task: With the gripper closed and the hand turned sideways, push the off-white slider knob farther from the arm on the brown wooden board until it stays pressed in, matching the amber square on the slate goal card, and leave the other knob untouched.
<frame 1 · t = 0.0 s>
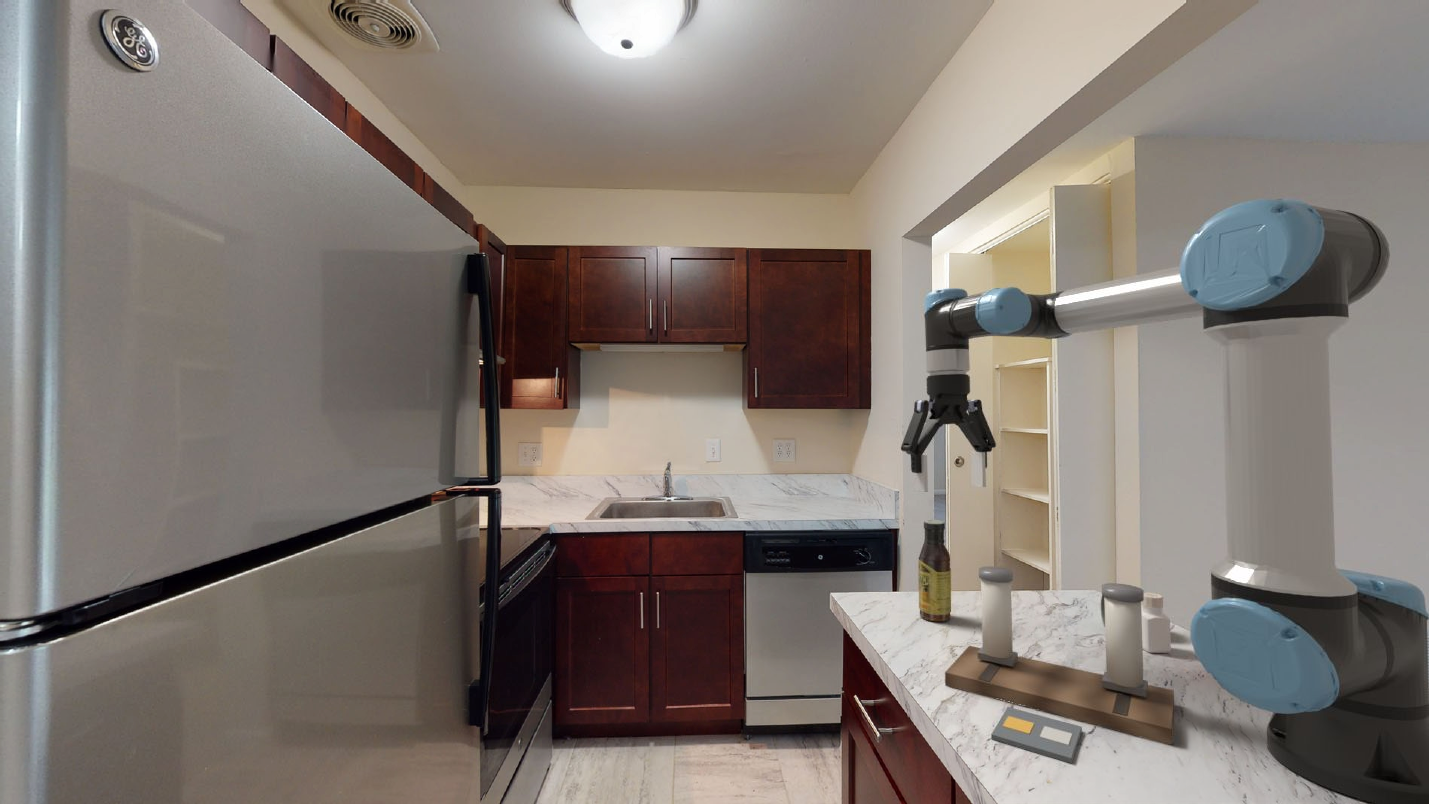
hand: (950, 488, 111), 28 cm above the countertop, tool pointing down, fingers open, 13 cm apart
brown wooden board: (1055, 694, 90), on the countertop
goal card: (1037, 735, 79), on the countertop
near slider: (1123, 637, 86), point 10 cm above the countertop, slide at 0.0 cm
sauce bottle: (935, 619, 123), on the countertop
far slider: (996, 614, 97), point 9 cm above the countertop, slide at 0.0 cm
salt shaker: (1153, 650, 105), on the countertop
ceramic mug: (1126, 631, 115), on the countertop
apple: (1229, 679, 94), on the countertop
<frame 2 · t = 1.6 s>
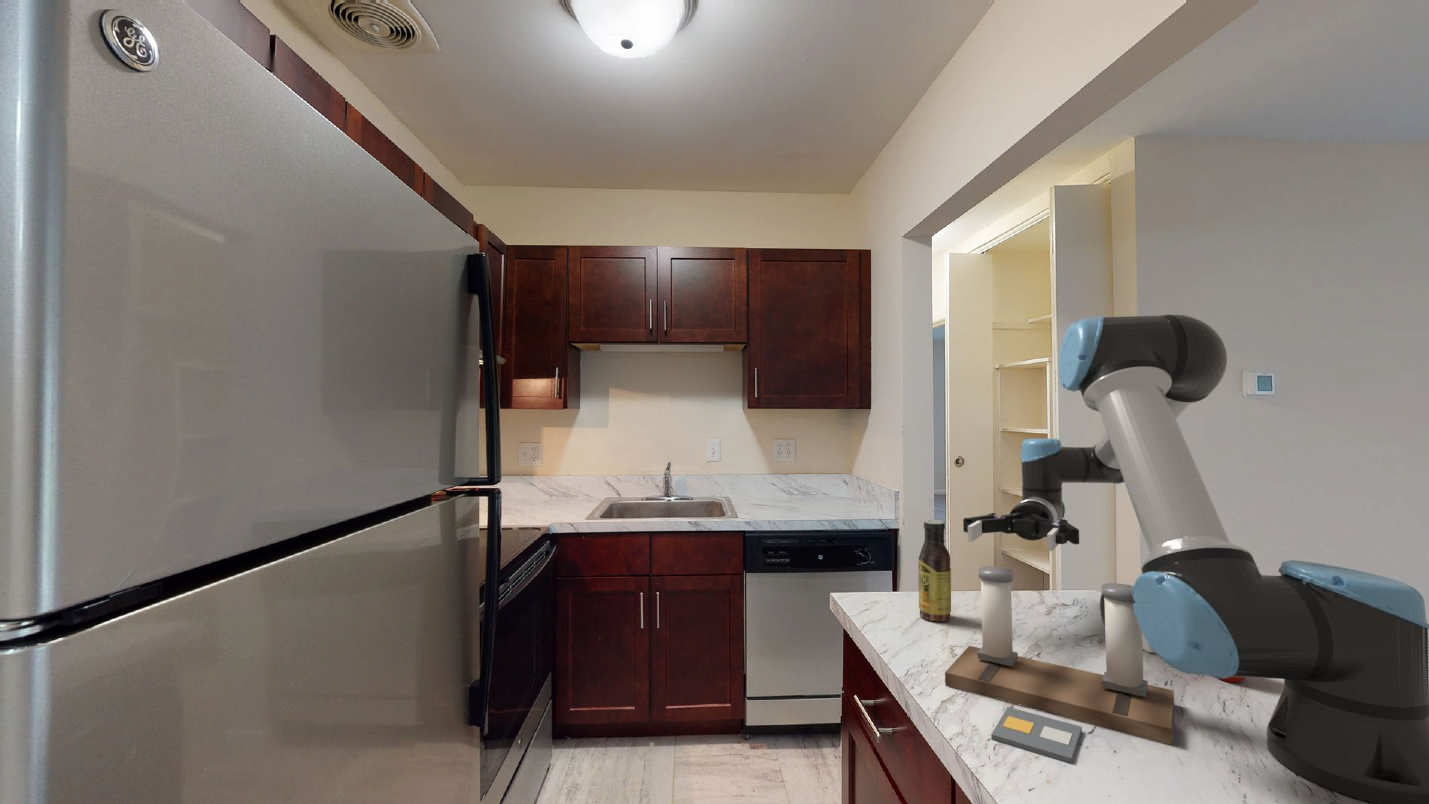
hand: (1008, 538, 105), 20 cm above the countertop, tool horizontal, fingers open, 12 cm apart
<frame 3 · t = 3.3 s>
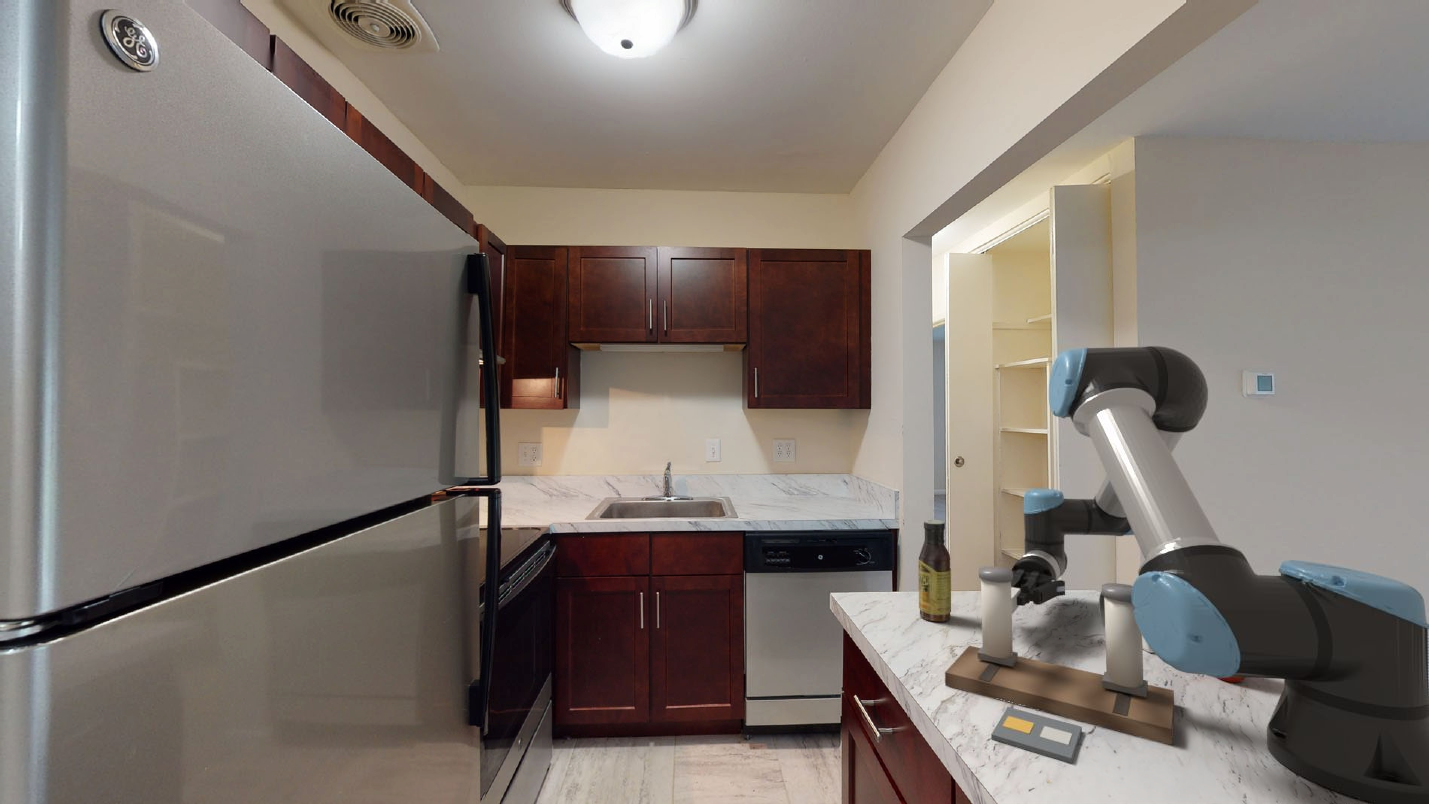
hand: (1007, 605, 103), 9 cm above the countertop, tool horizontal, fingers closed
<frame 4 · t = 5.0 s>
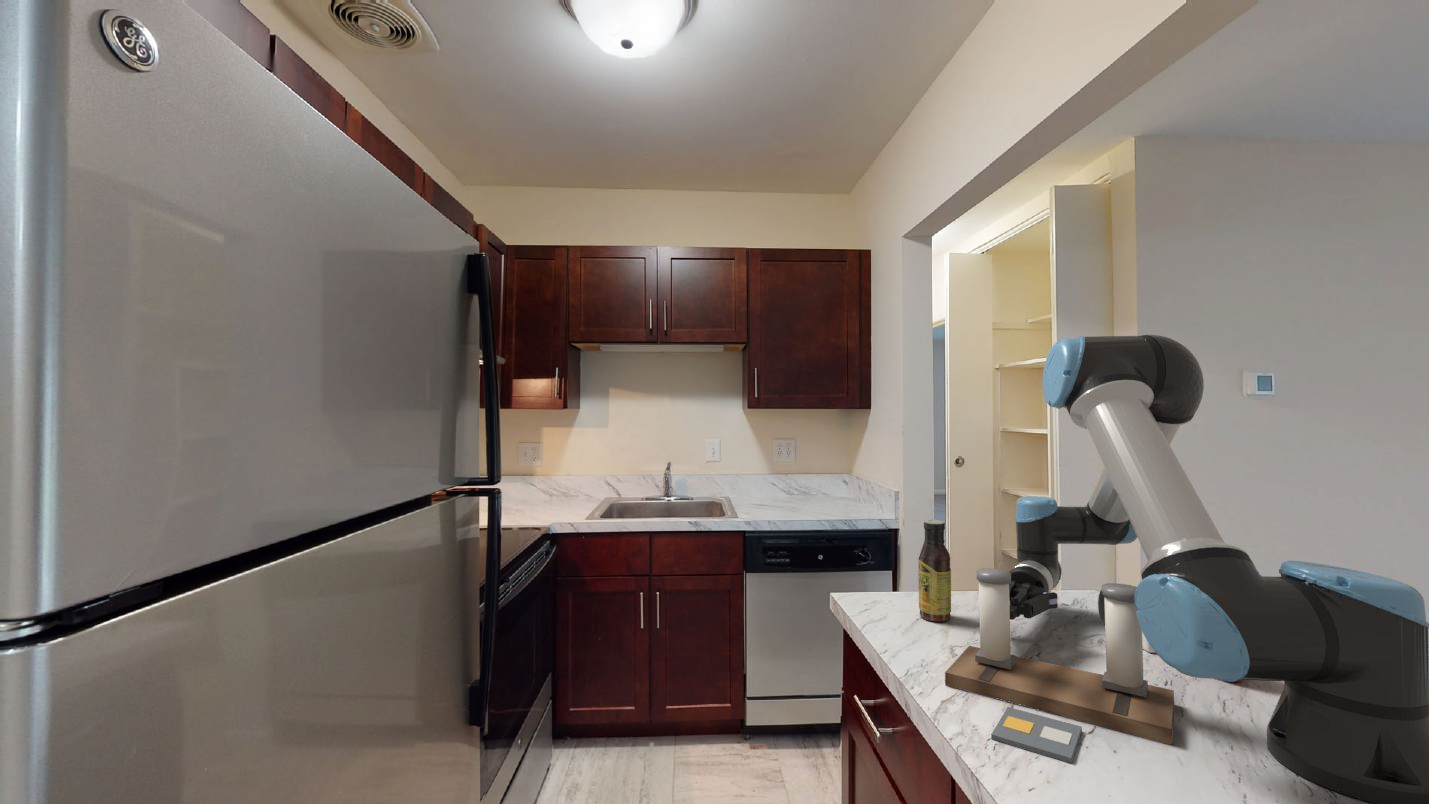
hand: (996, 619, 98), 8 cm above the countertop, tool horizontal, fingers closed
far slider: (994, 616, 96), point 10 cm above the countertop, slide at 1.3 cm, touching gripper
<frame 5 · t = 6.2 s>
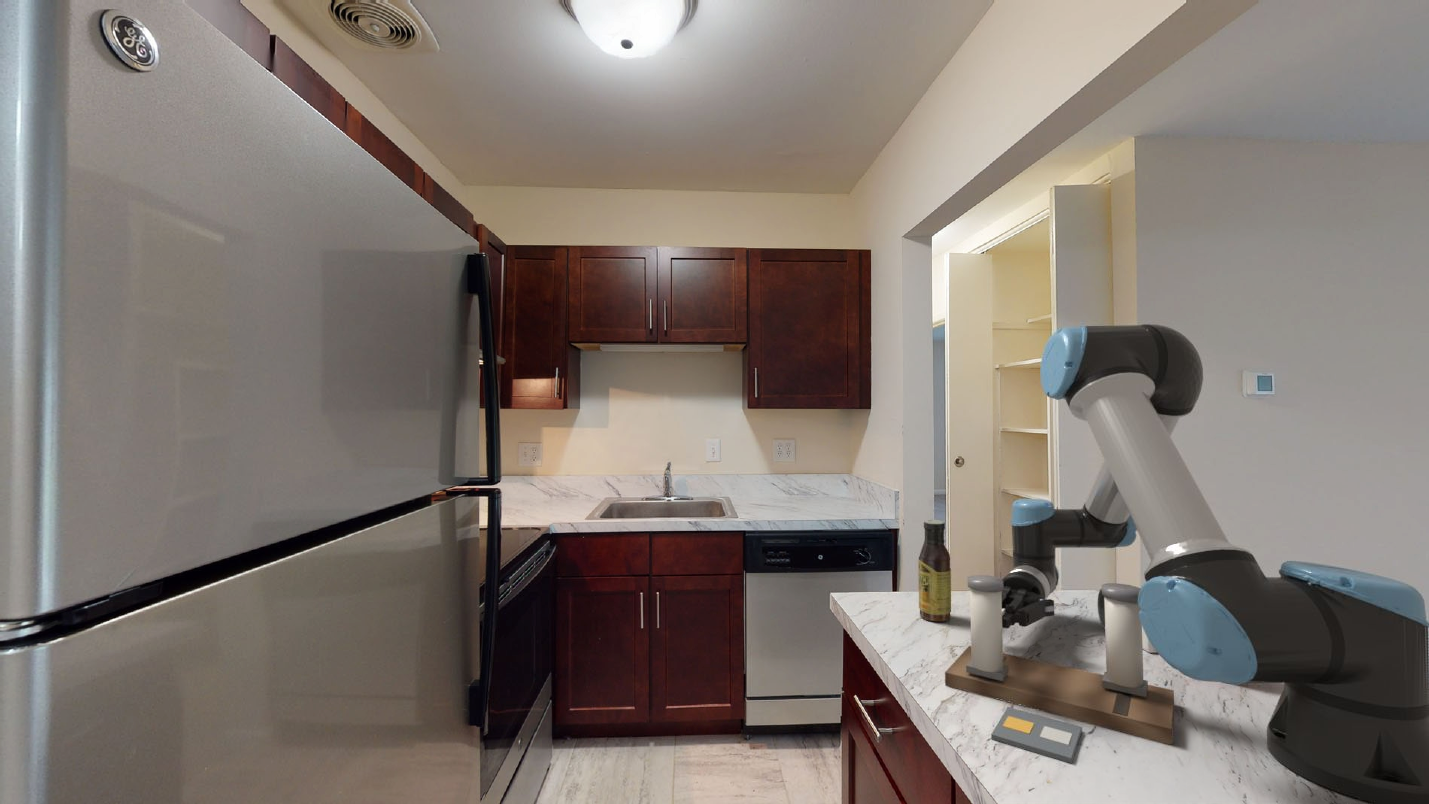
hand: (990, 627, 94), 8 cm above the countertop, tool horizontal, fingers closed
far slider: (986, 625, 92), point 10 cm above the countertop, slide at 6.2 cm, touching gripper
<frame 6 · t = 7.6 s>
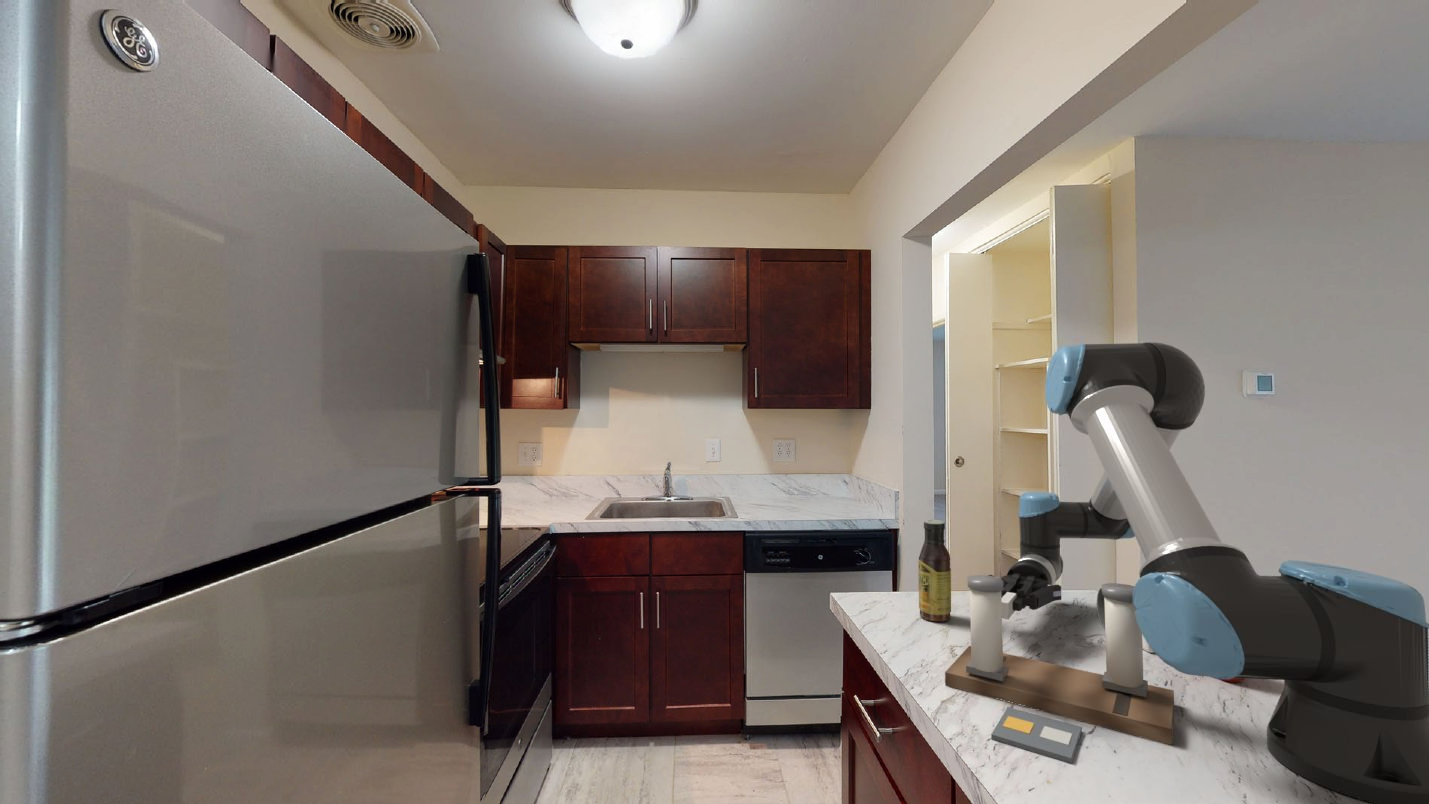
hand: (1003, 610, 101), 9 cm above the countertop, tool horizontal, fingers closed
far slider: (986, 626, 92), point 10 cm above the countertop, slide at 6.3 cm
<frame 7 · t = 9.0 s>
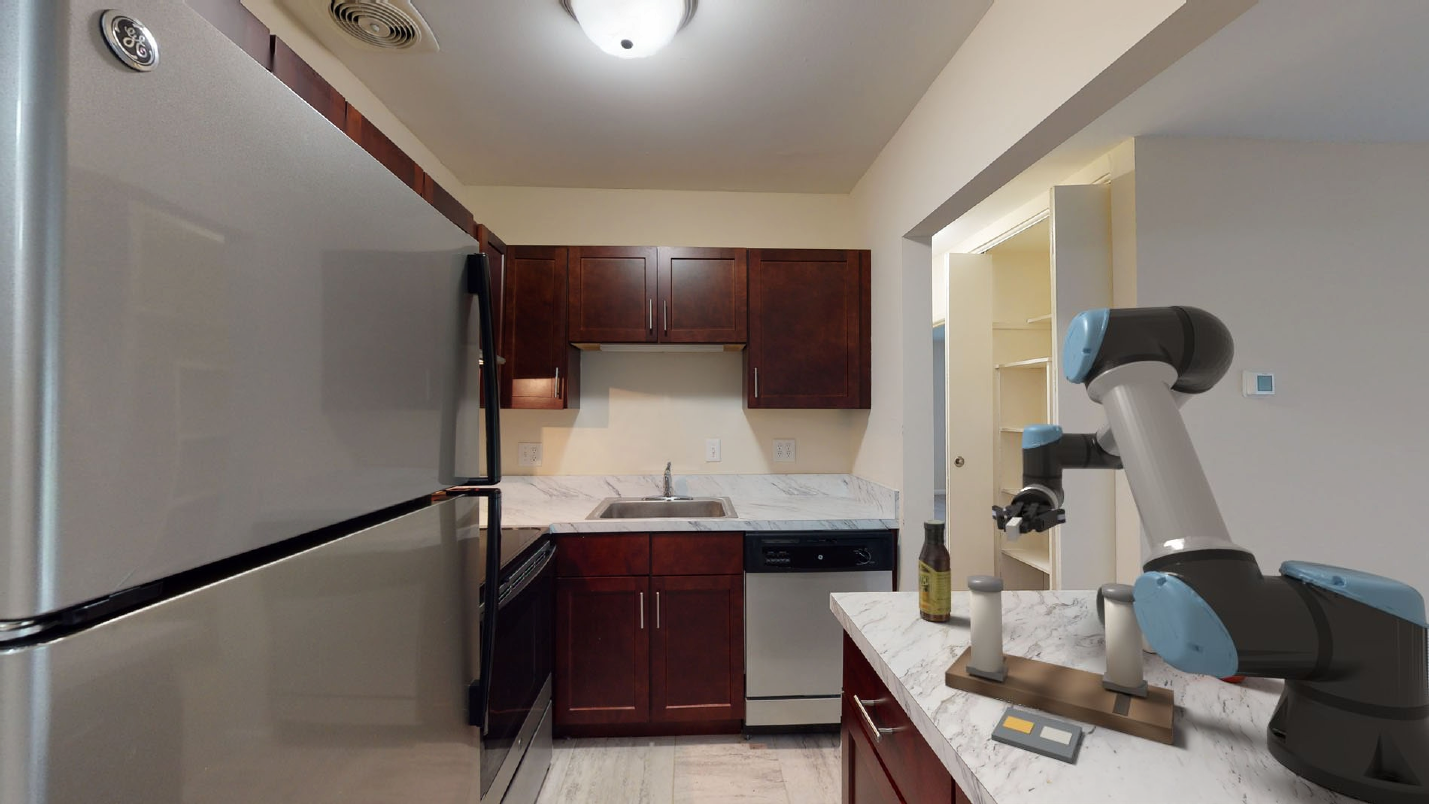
hand: (1010, 533, 103), 21 cm above the countertop, tool horizontal, fingers closed
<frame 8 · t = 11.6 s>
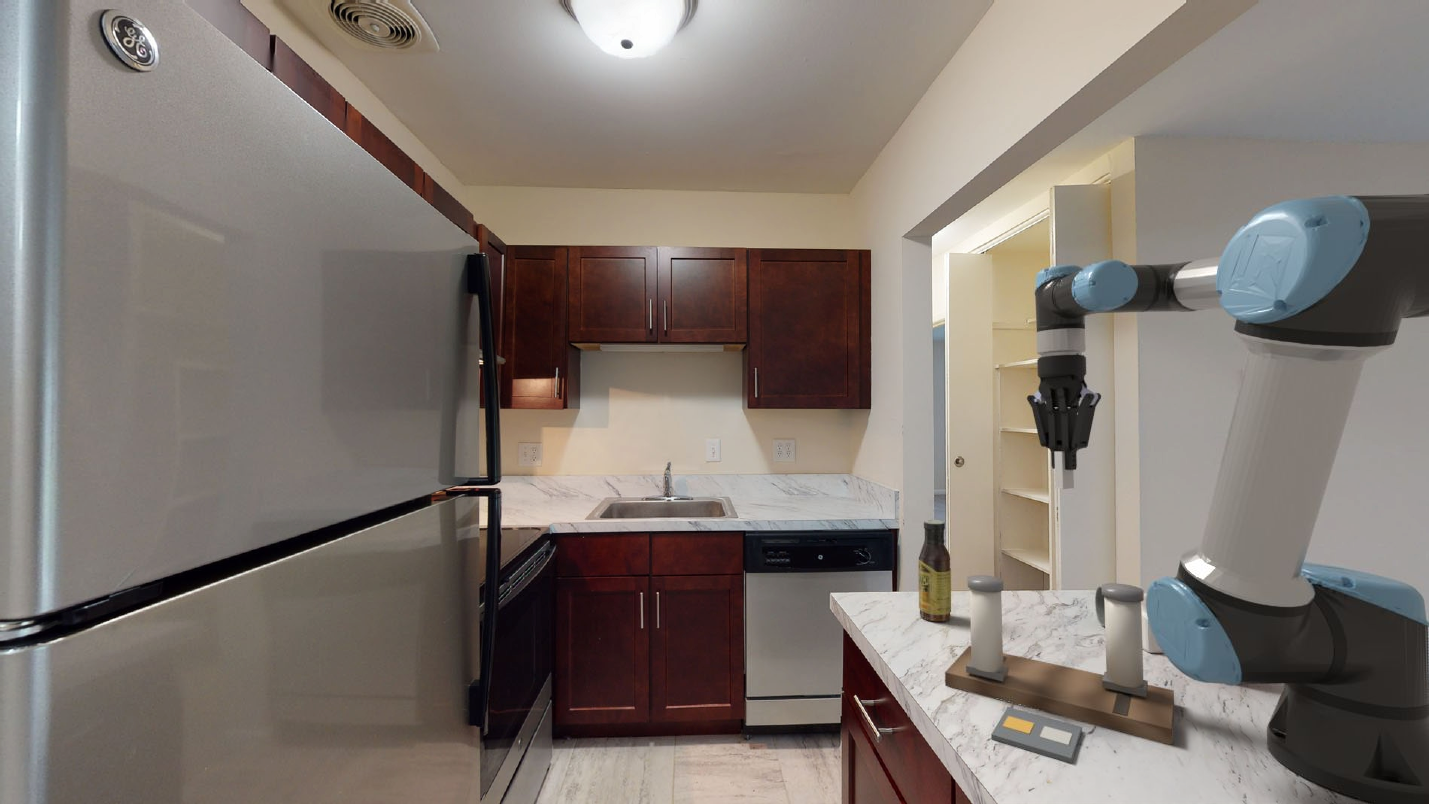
hand: (1064, 488, 107), 28 cm above the countertop, tool pointing down, fingers closed
at the end: far slider slide at 6.3 cm; near slider slide at 0.0 cm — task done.
